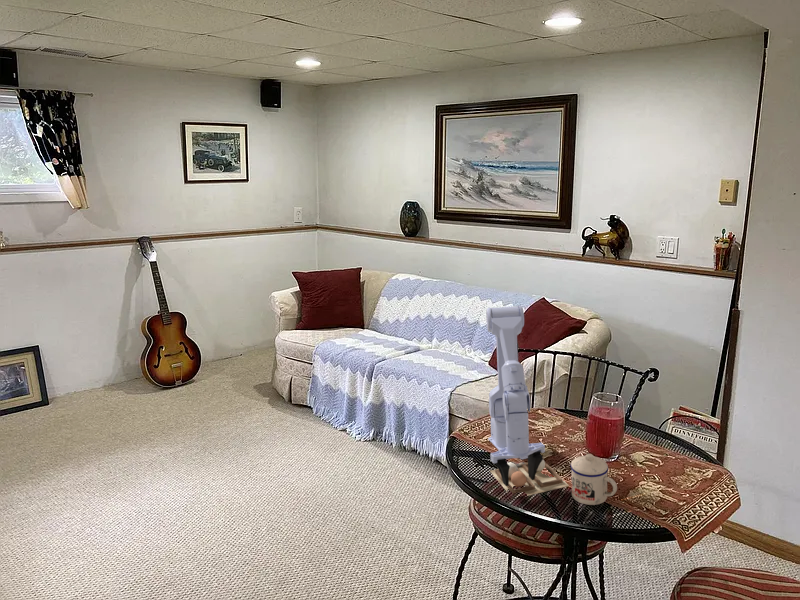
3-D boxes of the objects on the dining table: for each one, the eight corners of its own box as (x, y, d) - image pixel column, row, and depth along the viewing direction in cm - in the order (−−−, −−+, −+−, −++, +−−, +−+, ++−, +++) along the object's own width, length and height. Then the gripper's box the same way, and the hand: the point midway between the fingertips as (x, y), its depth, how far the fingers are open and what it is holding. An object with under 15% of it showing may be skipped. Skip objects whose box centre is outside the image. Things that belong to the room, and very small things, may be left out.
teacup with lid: (563, 497, 169) (563, 456, 166) (583, 482, 175) (583, 442, 172) (606, 515, 161) (606, 472, 158) (625, 499, 167) (626, 457, 164)
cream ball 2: (527, 468, 183) (527, 455, 182) (540, 465, 184) (540, 452, 183) (534, 475, 180) (534, 462, 179) (547, 472, 181) (547, 459, 180)
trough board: (489, 472, 184) (489, 467, 183) (542, 460, 188) (542, 455, 187) (513, 500, 170) (513, 495, 169) (569, 487, 174) (569, 482, 173)
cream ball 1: (500, 474, 181) (500, 461, 180) (514, 471, 182) (513, 458, 181) (507, 481, 178) (506, 468, 177) (520, 478, 179) (520, 465, 178)
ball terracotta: (508, 483, 177) (508, 470, 176) (522, 480, 178) (522, 467, 177) (515, 491, 173) (514, 477, 172) (529, 488, 174) (528, 474, 173)
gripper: (497, 446, 166) (499, 494, 169) (550, 435, 169) (551, 482, 173) (486, 434, 172) (488, 481, 176) (537, 423, 176) (538, 469, 180)
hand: (518, 481), depth 175 cm, fingers open, 7 cm apart
